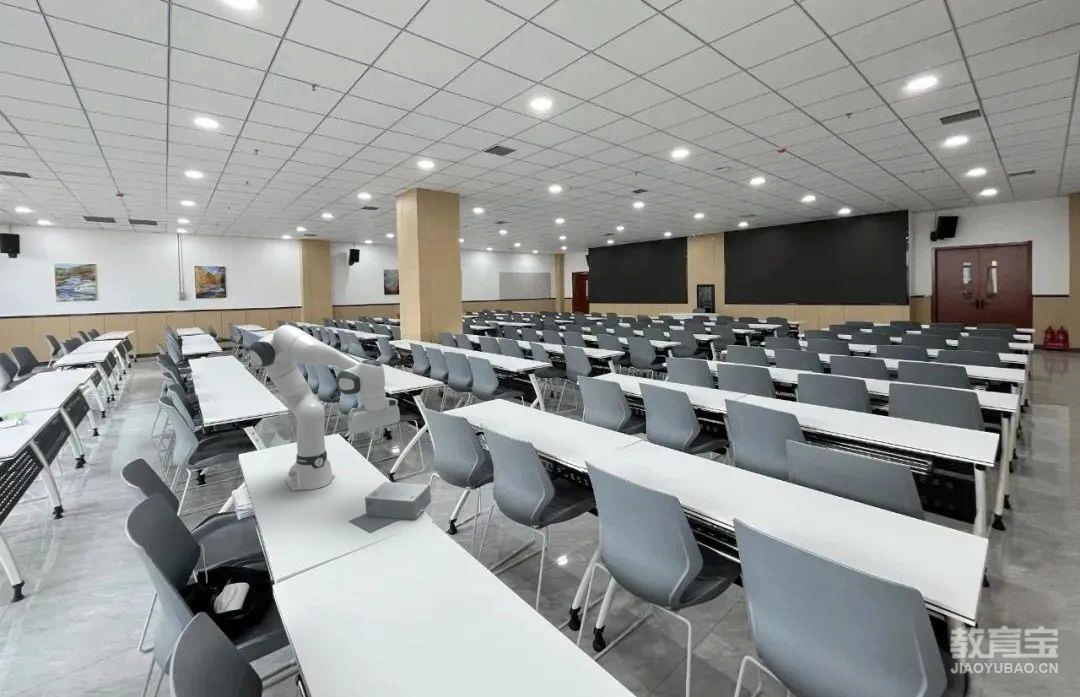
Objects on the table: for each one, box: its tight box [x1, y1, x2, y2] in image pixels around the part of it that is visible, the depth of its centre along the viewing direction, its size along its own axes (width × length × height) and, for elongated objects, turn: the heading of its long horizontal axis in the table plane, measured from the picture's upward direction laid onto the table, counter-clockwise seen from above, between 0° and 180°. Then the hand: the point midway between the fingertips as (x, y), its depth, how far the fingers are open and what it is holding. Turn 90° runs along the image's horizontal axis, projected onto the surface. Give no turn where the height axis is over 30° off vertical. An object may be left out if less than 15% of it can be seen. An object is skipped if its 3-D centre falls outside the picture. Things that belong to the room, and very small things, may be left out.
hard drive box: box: [364, 481, 432, 520], centre depth 196 cm, size 16×8×20 cm
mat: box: [348, 513, 401, 534], centre depth 192 cm, size 14×22×1 cm, turn 141°
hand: (375, 439), depth 190 cm, fingers closed
